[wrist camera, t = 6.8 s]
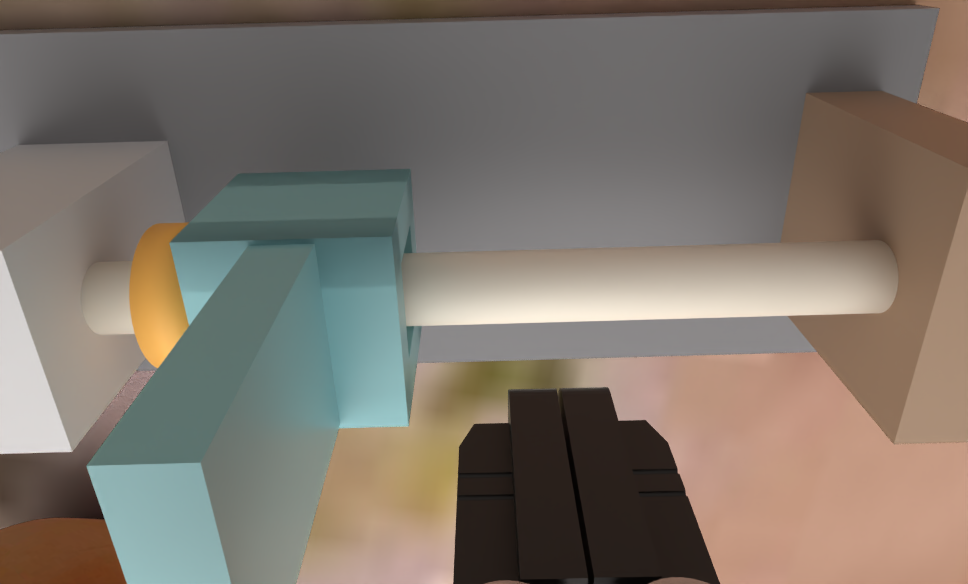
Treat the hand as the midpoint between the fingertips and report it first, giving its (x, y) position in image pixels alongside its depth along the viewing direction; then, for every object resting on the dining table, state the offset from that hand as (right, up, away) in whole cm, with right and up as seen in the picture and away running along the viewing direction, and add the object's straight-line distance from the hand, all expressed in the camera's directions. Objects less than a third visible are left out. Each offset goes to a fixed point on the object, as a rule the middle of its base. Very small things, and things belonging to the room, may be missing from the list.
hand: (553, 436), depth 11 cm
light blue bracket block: (-5, +3, +7) cm, 9 cm away
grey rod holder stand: (-2, +5, +10) cm, 11 cm away
